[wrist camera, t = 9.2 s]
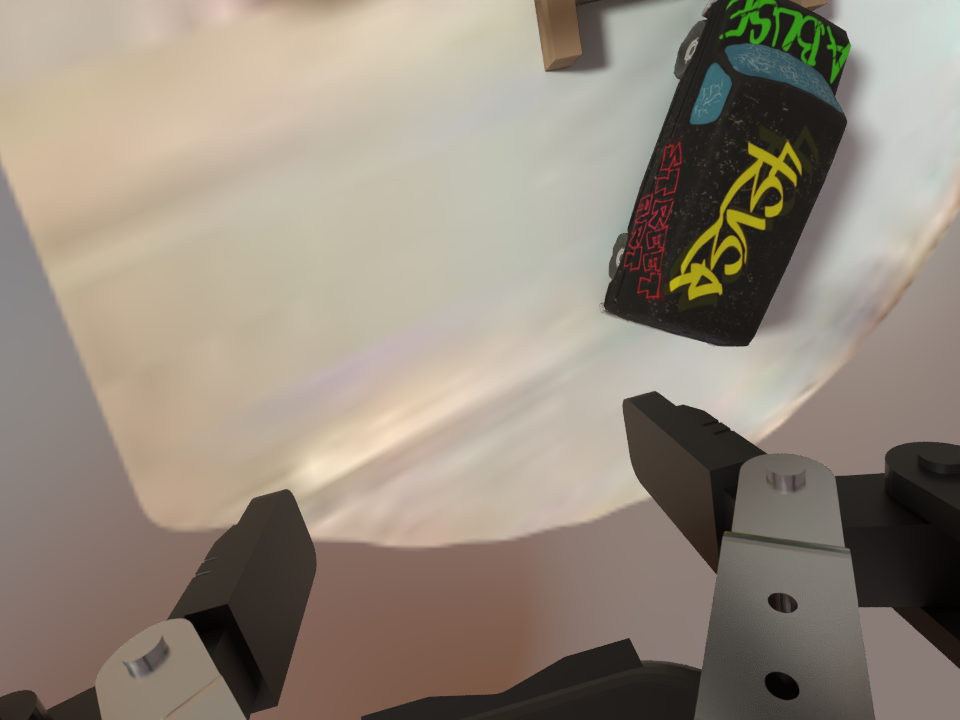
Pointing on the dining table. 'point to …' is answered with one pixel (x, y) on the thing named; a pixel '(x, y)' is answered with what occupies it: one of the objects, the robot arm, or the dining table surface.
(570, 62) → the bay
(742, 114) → the toy van
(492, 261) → the dining table surface
